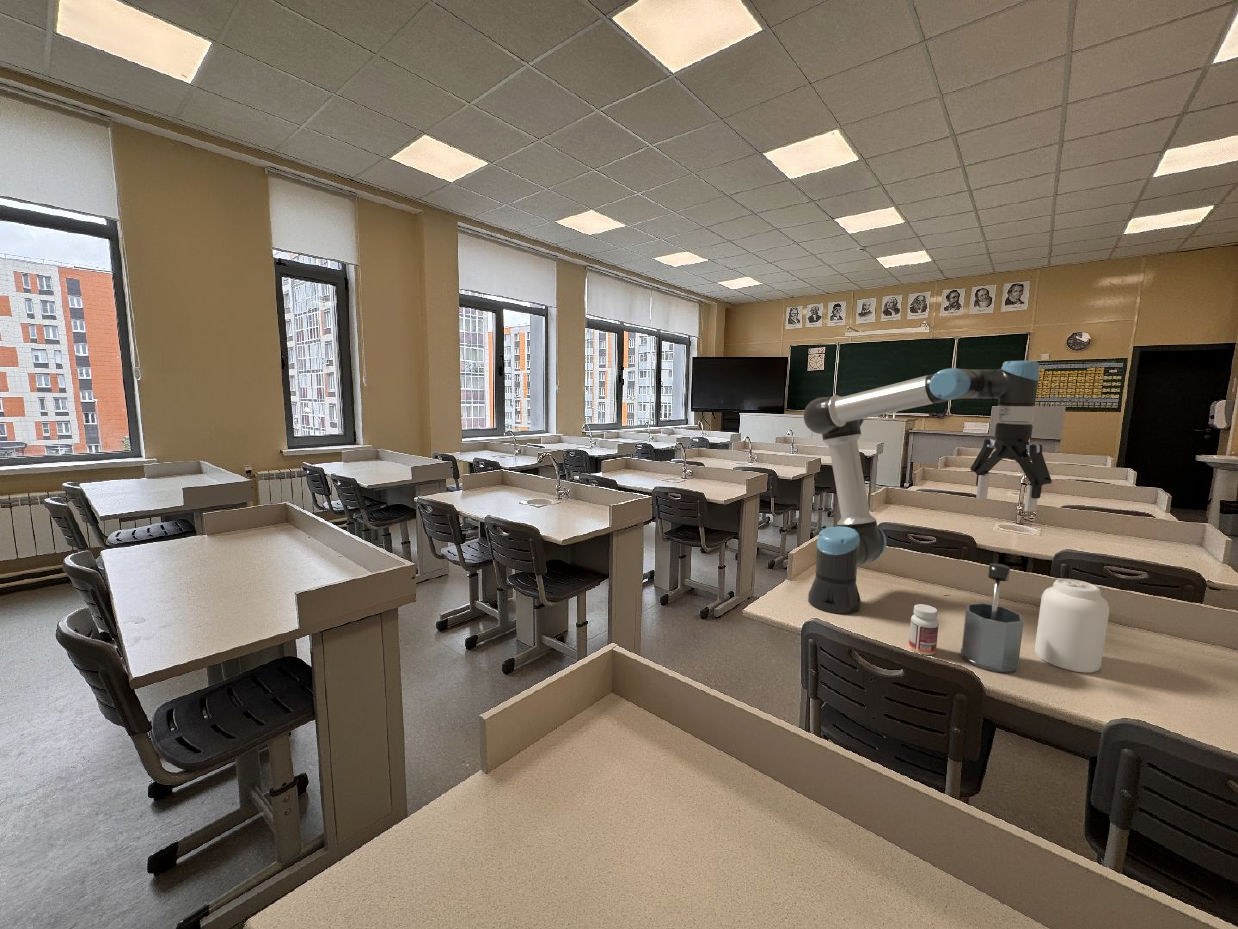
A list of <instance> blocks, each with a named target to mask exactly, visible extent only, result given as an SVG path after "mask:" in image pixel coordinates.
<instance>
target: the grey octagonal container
mask: <svg viewBox="0 0 1238 929" xmlns="http://www.w3.org/2000/svg"><path fill="white" fill-rule="evenodd" d="M992 604H993V603H992ZM992 604H990V603H986V602H977V603H976V602H974V603H967V604H966V607H965V613H964V614H965V615H964V624H963V630H962V631H963V632H962V642H961V649H960V657H961V658H962V659H963V661H965V662H966V663H968V664H969V665H972V666H973V667H975V668H978V669H981V670H984V671H988V672H991V673H995V674H996V673H998V674H1012V673H1015V672H1017V671H1018V668H1019V662H1020V654H1021V647H1022V646H1021V645H1022V641H1023V640H1022V639H1023V631H1024V624H1025V623H1024V617H1023V615H1022V614H1021V613H1019V612H1016V611H1014V610H1012V609H1010V608H1008V607H1005V606H1002V605H997V613H996V621H995V620H991V612H992Z"/></svg>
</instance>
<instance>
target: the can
mask: <svg viewBox="0 0 1238 929" xmlns="http://www.w3.org/2000/svg"><path fill="white" fill-rule="evenodd" d="M1101 594H1102V591H1101V590H1100V588H1099V587H1098V586H1097V585H1094V584H1092V583H1090V582H1086V581H1083V580H1080V579H1072V578H1056V580H1055V581H1054V582H1053V585H1052V586H1050V587H1047V588H1046V589H1044V590H1043V592H1042V595H1041V598H1040V606H1039V614H1038V621H1037V629H1036V636H1035V645H1034V651H1035V654H1036V655H1037V656H1038V658H1040V659H1041V660H1043V661H1044V662H1046V663H1048V664H1050V665H1052V666H1055V667H1058V668H1060V669H1064V670H1067V671H1072V672H1078V673H1089V674H1090V673H1095V672H1097V671H1099V669H1100V668H1101V667H1102V661H1103V655H1104V648H1105V642H1106V636H1107V629H1108V623H1109V616H1110V608H1109V603H1108V601H1107V600H1106V599H1105V598H1104V597H1103V596H1102V595H1101Z"/></svg>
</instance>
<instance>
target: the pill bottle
mask: <svg viewBox="0 0 1238 929" xmlns="http://www.w3.org/2000/svg"><path fill="white" fill-rule="evenodd" d="M937 618H938V609H937V608H936V607H933V605H932V606H931V605H929V604H924V603H918V604H915V605H914V607H913V614H912V616H911V617H910V625H909V626H910V627H909V628H910V629H909V636H908V637H909V638H908V647H909V649H910V650H912V651H913V652H914V653H917V652H918V653H917V654H919V653H920V654H919V655H923V654H924V655H923V656H930V655H934V654H936V653H937V648H938V647H937V644H938V634H939V620H938V619H937Z"/></svg>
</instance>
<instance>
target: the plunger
mask: <svg viewBox="0 0 1238 929" xmlns="http://www.w3.org/2000/svg"><path fill="white" fill-rule="evenodd" d="M1010 569H1011V567H1010V566H1008V565H1005V564H1001V563H995V562H994V563H992V562H991V563H989V564H988V574H987V577H988V578H989V579H991V580H993V581H994V589H993V597H992V612H991V620H995V621H996V613H997V606H999V605H998V603H999V597H1000V596H999V595H1000V587H1001V582H1008V581H1009V580H1010V579H1009V577H1010Z"/></svg>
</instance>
